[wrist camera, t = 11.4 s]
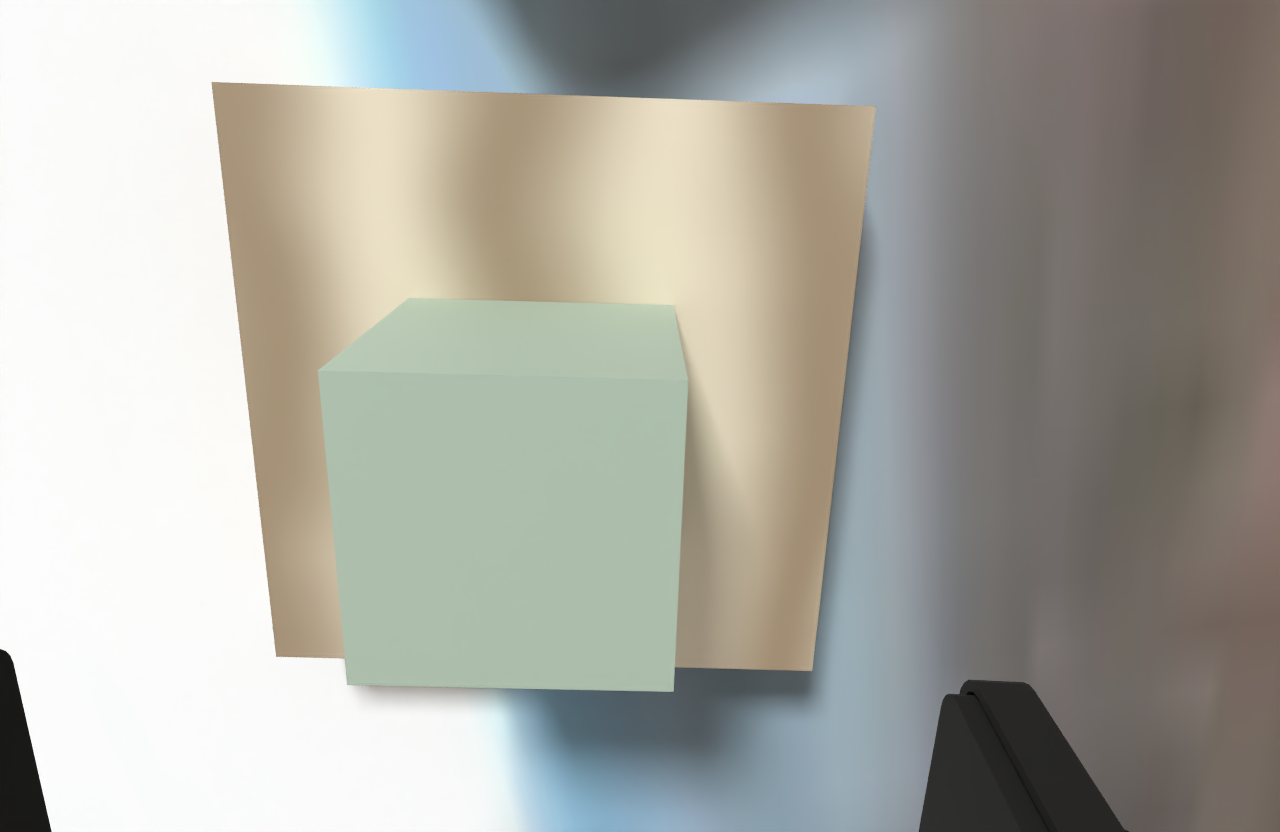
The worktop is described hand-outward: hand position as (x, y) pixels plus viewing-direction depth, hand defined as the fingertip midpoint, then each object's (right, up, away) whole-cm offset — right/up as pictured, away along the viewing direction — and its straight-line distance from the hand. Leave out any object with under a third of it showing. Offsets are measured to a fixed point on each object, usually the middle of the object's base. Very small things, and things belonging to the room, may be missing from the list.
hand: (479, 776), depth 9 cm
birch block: (-1, +5, +16) cm, 17 cm away
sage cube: (-1, +3, +12) cm, 13 cm away
